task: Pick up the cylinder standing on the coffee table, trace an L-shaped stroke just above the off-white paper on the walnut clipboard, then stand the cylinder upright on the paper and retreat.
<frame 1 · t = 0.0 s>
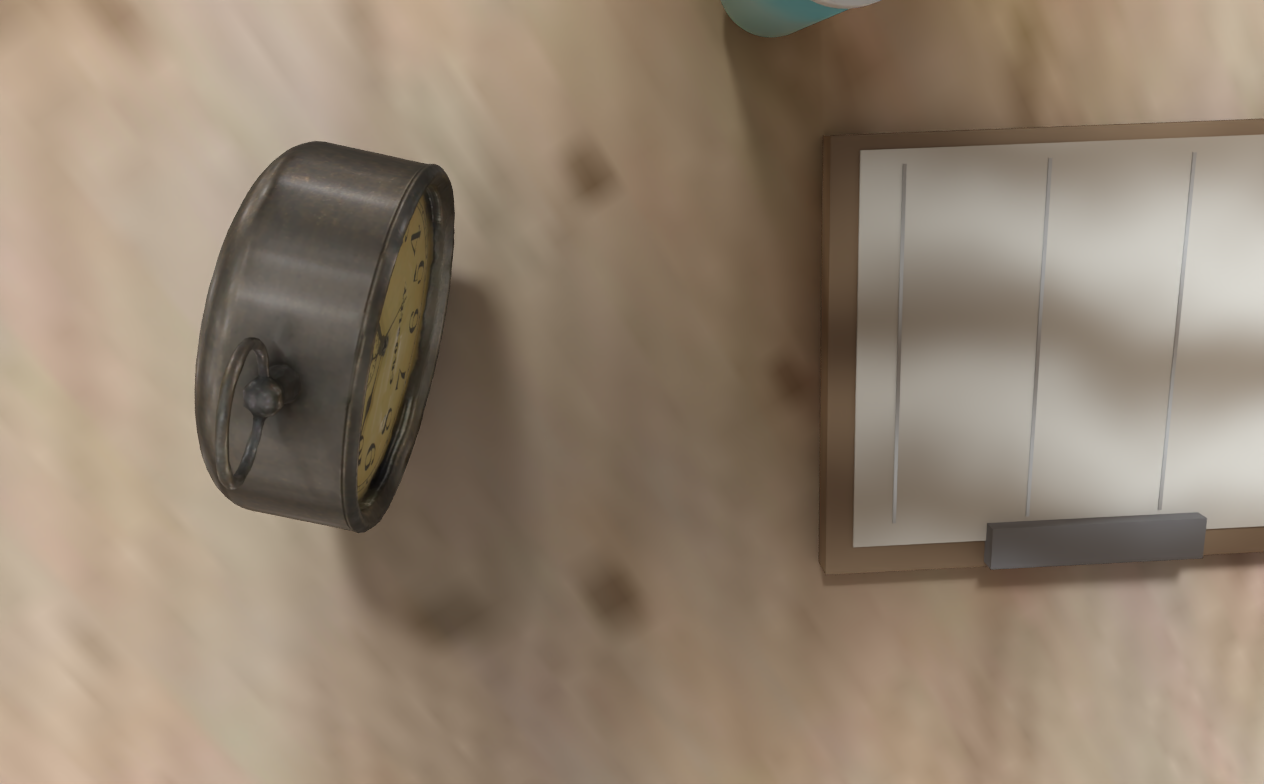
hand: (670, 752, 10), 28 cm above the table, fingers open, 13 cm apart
alarm clock: (375, 297, 37), on the table
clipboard: (1088, 347, 38), on the table
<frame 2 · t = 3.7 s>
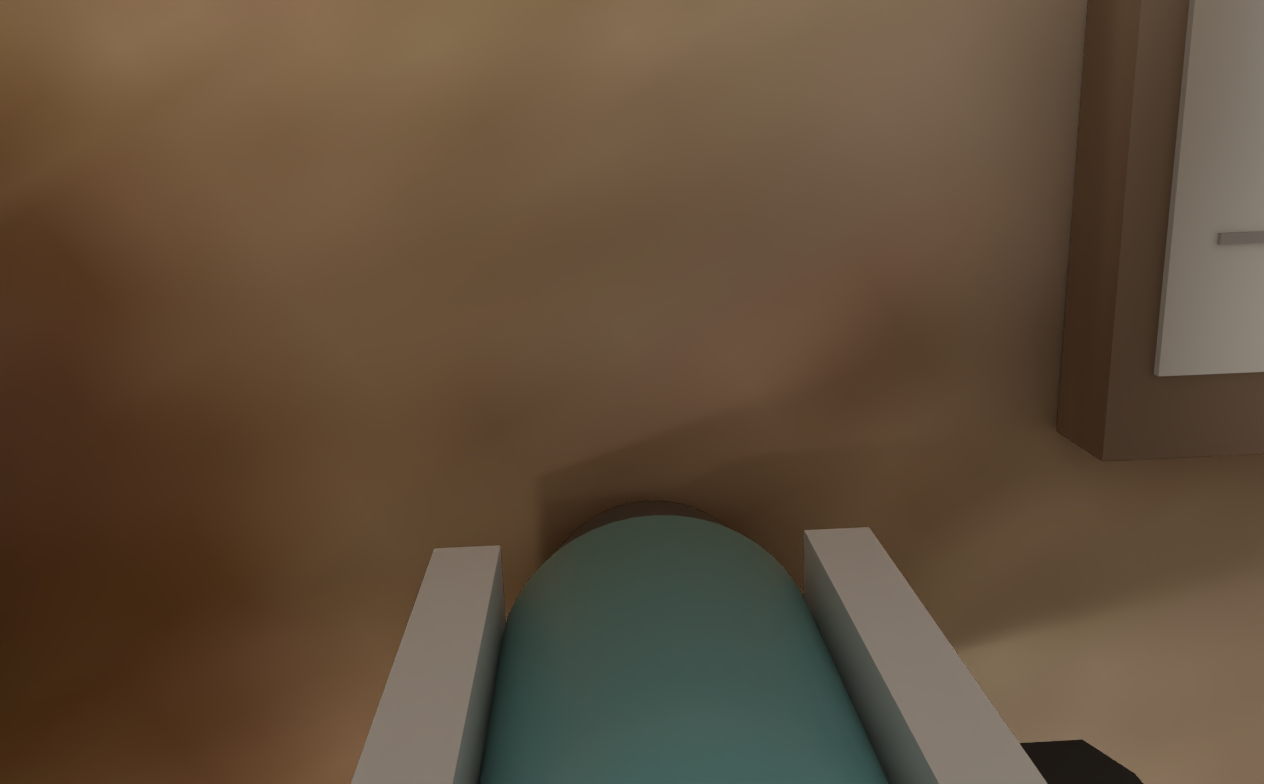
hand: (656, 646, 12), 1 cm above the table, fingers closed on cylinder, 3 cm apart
cylinder: (651, 604, 13), on the table, touching gripper
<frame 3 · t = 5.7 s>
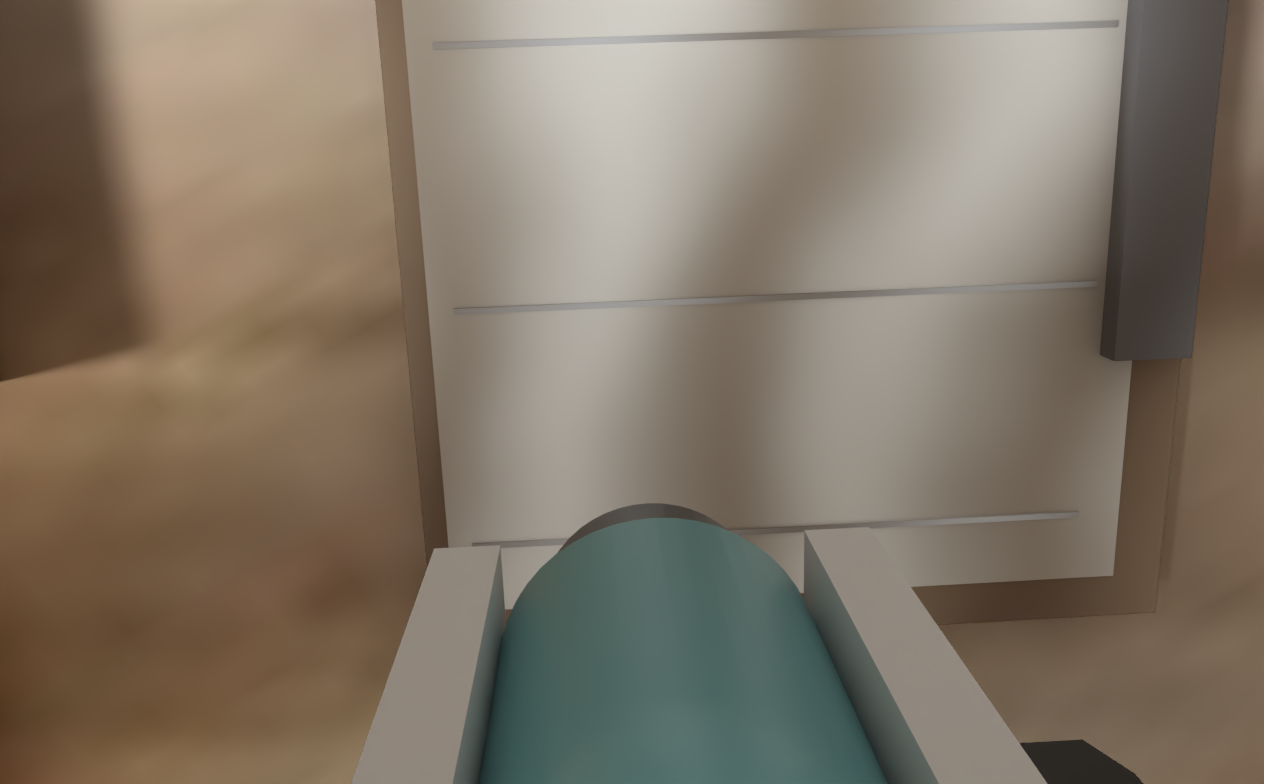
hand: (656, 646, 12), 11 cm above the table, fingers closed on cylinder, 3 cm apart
cylinder: (651, 606, 13), point 10 cm above the table, touching gripper
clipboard: (791, 166, 22), on the table
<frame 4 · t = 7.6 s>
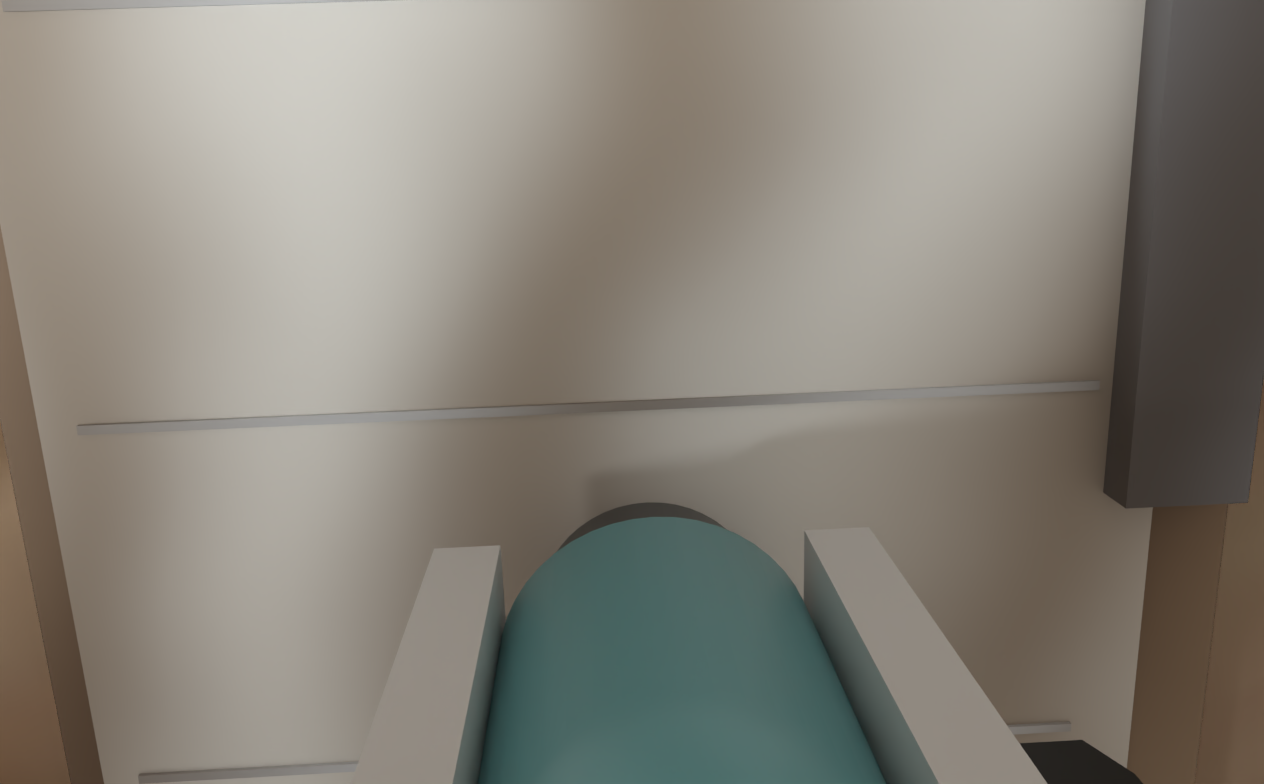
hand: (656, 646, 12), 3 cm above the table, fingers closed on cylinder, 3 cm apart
cylinder: (650, 605, 13), point 2 cm above the table, touching gripper
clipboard: (625, 199, 14), on the table
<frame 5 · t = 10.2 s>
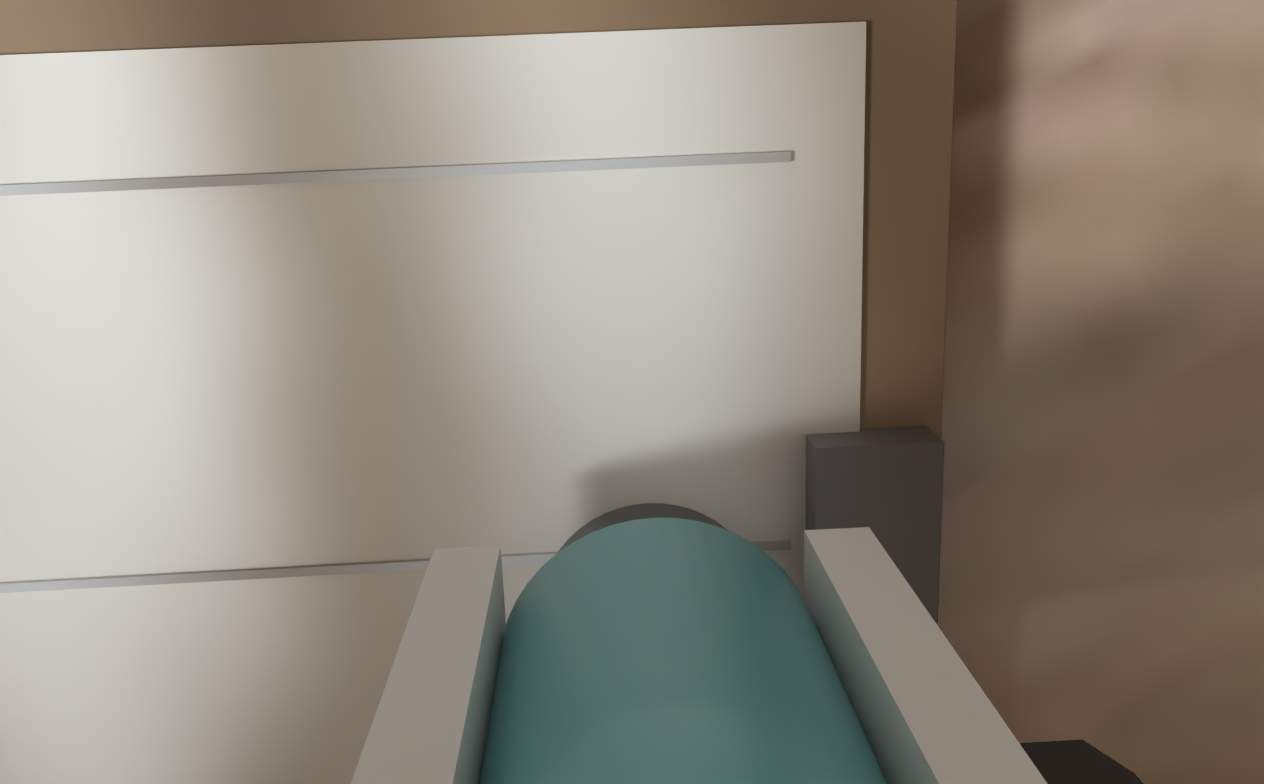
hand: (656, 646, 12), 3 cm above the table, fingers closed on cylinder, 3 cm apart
cylinder: (651, 606, 13), point 2 cm above the table, touching gripper
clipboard: (373, 687, 15), on the table
when the fingers open (3 cm above the table, at t = 11.7 s): cylinder stays where it is, resting on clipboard.
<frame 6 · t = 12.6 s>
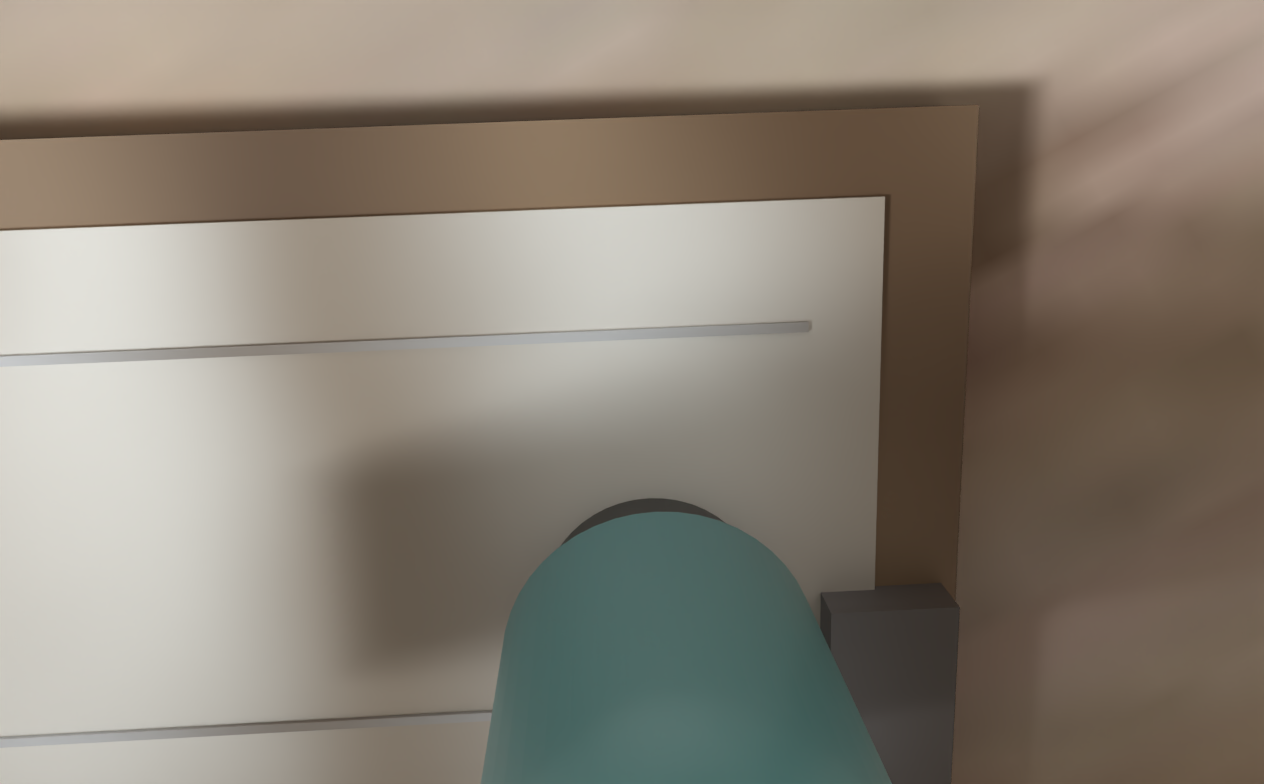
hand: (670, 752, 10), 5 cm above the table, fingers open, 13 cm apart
cylinder: (652, 601, 13), point 1 cm above the table, touching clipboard
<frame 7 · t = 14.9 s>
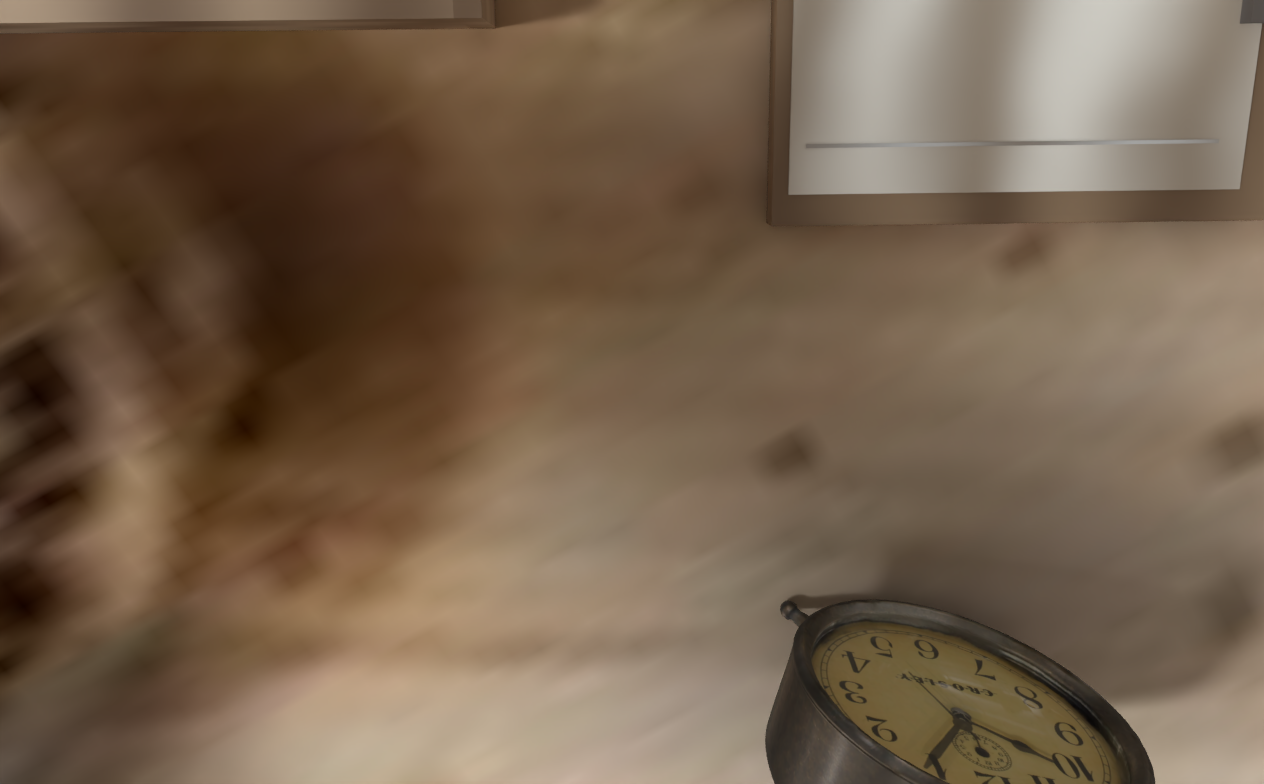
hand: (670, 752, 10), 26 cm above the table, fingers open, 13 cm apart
alarm clock: (889, 651, 39), on the table
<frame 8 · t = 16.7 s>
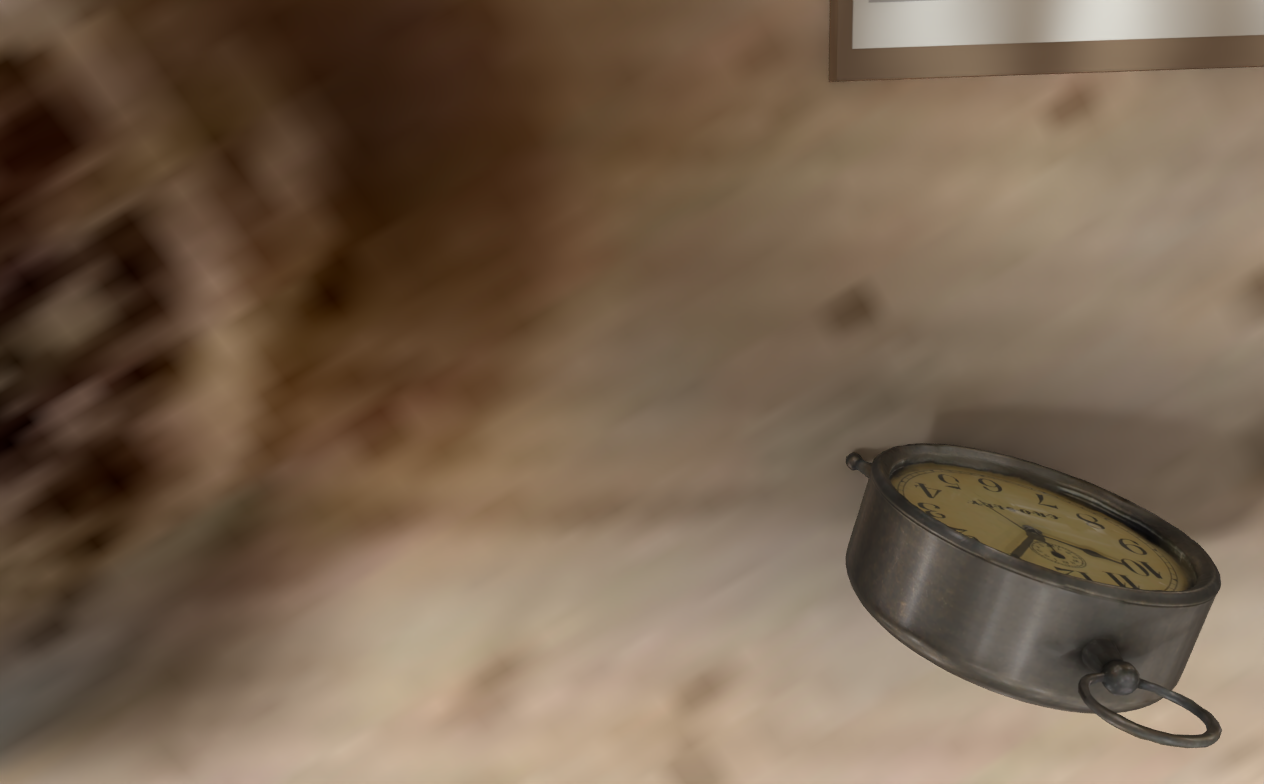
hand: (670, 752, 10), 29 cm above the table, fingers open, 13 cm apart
alarm clock: (948, 502, 41), on the table
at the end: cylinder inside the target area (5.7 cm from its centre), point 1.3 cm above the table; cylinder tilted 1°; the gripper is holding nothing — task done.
